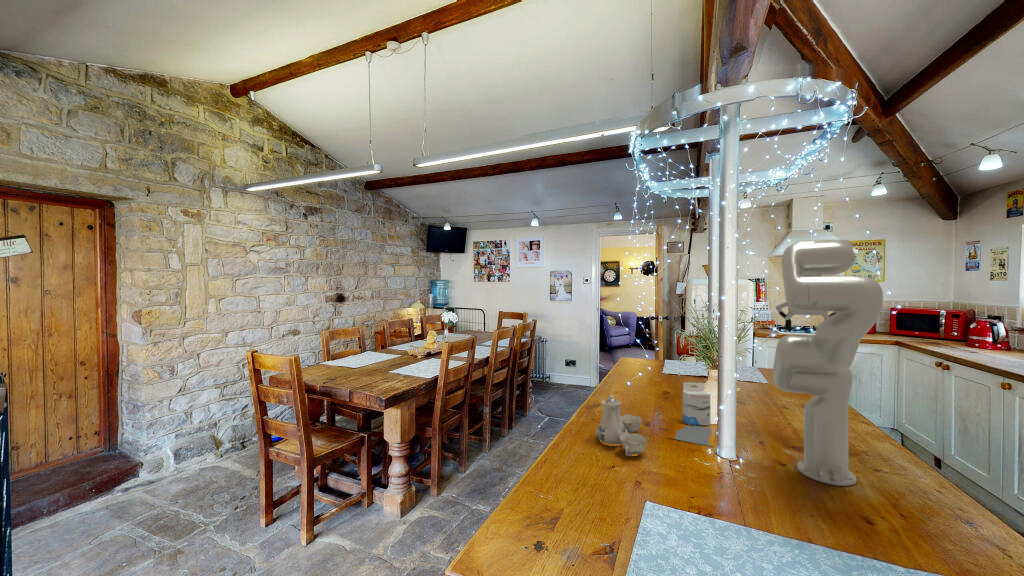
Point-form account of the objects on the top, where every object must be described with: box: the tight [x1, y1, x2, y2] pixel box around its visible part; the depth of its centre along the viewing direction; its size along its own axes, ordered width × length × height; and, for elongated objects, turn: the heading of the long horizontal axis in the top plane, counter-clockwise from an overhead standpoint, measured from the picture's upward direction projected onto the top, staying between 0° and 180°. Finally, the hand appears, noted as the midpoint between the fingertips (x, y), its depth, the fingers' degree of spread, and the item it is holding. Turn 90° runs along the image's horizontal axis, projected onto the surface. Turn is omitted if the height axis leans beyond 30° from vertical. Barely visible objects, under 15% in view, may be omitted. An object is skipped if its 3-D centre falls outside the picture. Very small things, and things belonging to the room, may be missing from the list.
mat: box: [675, 425, 717, 447], centre depth 135 cm, size 16×14×1 cm
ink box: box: [682, 382, 711, 426], centre depth 145 cm, size 9×5×15 cm, turn 84°
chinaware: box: [595, 394, 649, 457], centre depth 130 cm, size 28×17×17 cm, turn 171°
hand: (807, 332), depth 127 cm, fingers open, 9 cm apart
